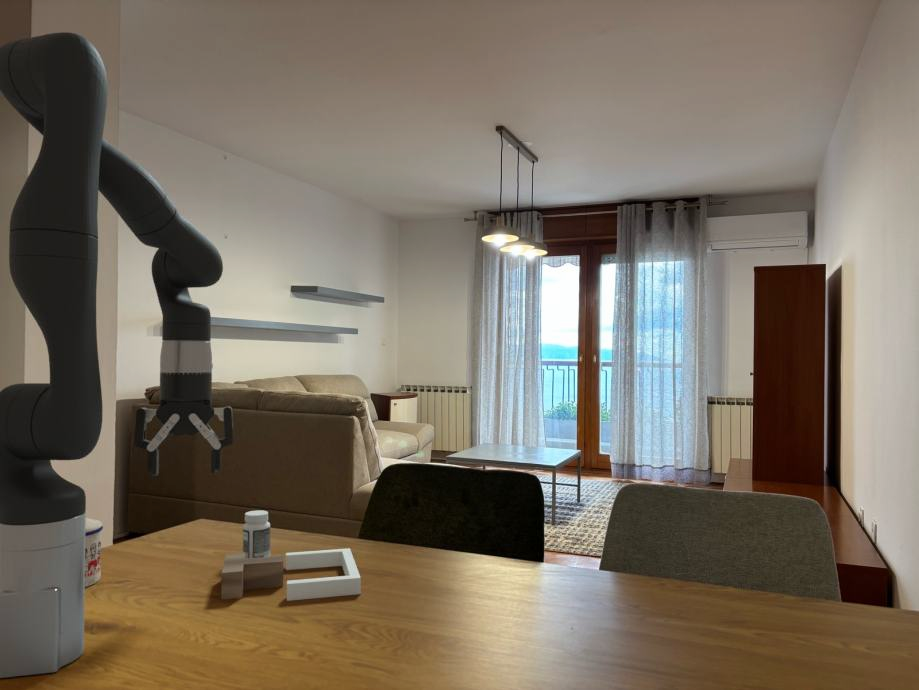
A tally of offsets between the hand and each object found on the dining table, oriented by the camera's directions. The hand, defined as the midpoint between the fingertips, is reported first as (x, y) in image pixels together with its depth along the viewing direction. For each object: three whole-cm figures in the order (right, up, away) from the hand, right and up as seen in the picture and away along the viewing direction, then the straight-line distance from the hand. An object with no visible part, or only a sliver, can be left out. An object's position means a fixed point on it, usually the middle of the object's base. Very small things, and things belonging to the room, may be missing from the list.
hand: (184, 473), depth 104 cm
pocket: (+20, -18, +5) cm, 27 cm away
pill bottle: (+6, -19, +16) cm, 25 cm away
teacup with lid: (-20, -18, +4) cm, 27 cm away
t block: (+10, -18, +2) cm, 21 cm away
